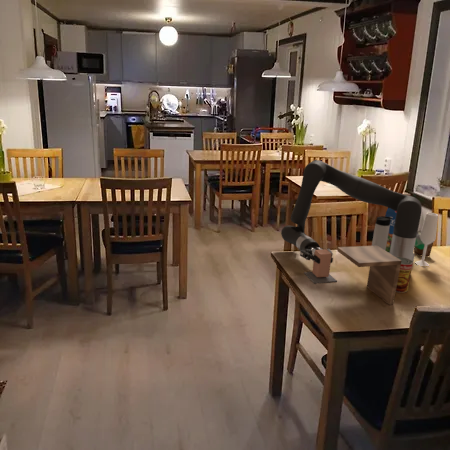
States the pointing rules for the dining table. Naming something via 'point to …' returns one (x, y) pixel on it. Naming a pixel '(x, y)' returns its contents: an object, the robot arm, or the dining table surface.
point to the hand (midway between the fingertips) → (325, 261)
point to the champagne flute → (428, 234)
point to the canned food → (404, 274)
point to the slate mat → (319, 278)
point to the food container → (421, 246)
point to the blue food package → (391, 214)
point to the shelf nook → (376, 269)
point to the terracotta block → (322, 263)
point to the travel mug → (381, 232)
